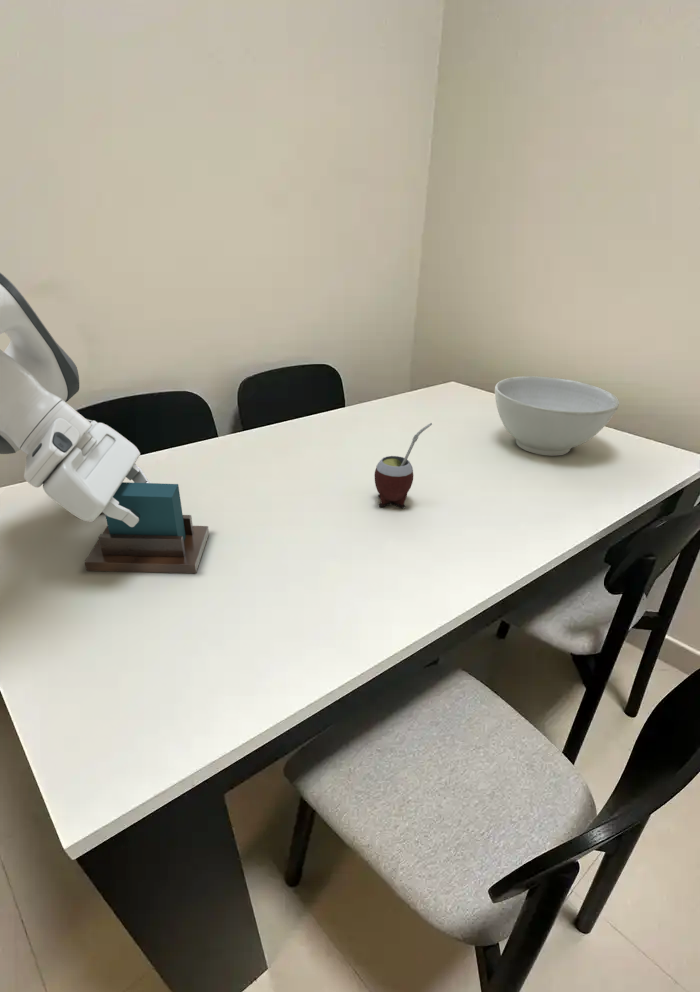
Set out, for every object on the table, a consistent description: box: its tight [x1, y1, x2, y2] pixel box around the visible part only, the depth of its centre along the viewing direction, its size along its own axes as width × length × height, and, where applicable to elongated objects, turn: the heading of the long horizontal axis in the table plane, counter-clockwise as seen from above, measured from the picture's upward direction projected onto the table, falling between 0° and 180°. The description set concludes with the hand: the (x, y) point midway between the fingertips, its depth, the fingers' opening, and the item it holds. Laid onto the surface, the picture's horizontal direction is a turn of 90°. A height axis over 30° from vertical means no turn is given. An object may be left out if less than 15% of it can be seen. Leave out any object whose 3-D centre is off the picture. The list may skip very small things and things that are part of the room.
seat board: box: [84, 514, 210, 574], centre depth 89 cm, size 16×12×4 cm
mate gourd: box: [373, 422, 433, 509], centre depth 104 cm, size 8×8×15 cm
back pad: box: [104, 481, 186, 541], centre depth 87 cm, size 10×4×9 cm, turn 92°
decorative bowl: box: [494, 375, 620, 457], centre depth 132 cm, size 27×27×12 cm
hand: (145, 507), depth 86 cm, fingers open, 8 cm apart
